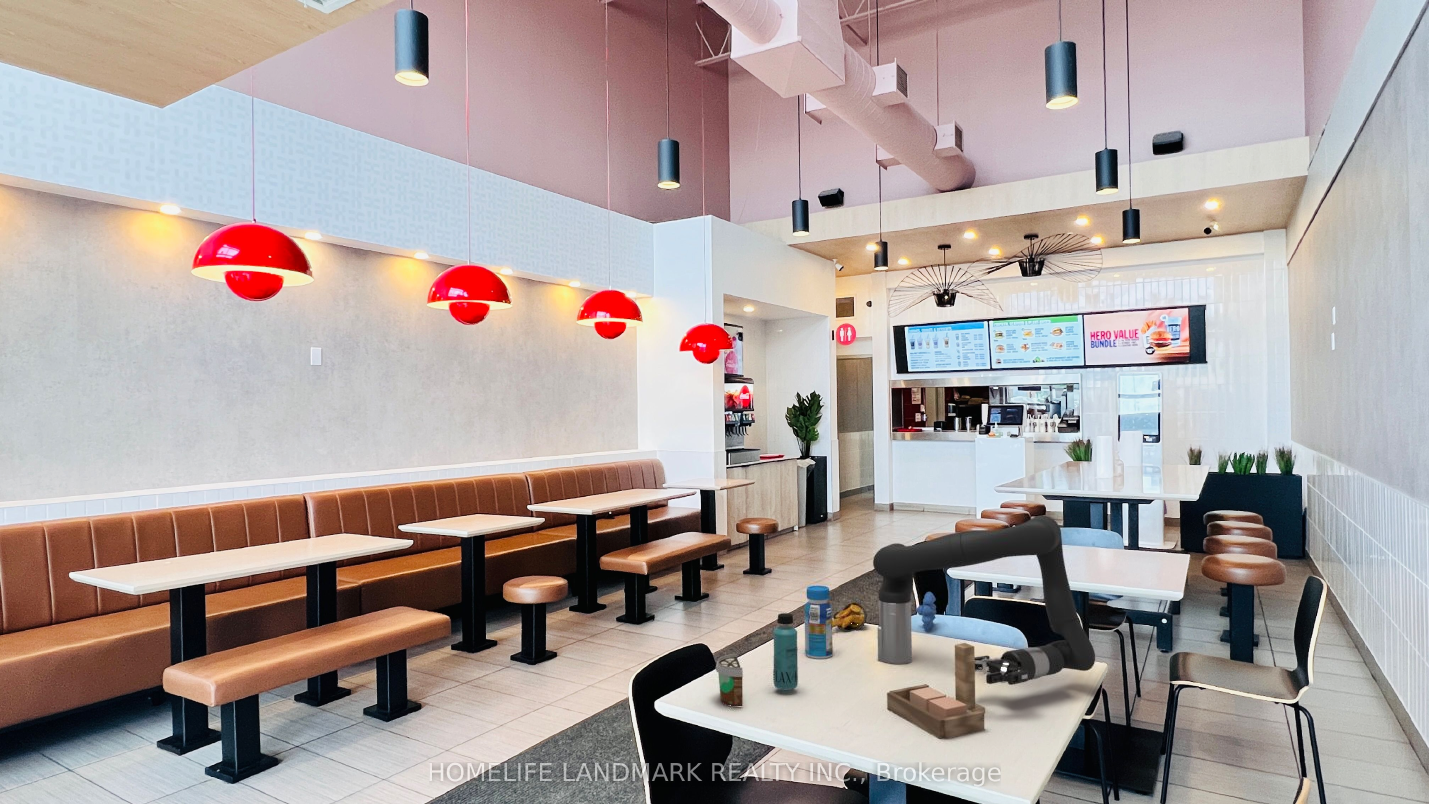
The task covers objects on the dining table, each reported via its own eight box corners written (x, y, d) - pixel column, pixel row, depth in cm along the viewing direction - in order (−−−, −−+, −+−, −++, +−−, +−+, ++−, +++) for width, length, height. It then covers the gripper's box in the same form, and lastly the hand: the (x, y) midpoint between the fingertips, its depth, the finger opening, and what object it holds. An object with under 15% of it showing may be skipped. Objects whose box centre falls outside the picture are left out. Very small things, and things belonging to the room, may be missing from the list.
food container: (714, 692, 206) (713, 653, 206) (737, 691, 207) (737, 652, 207) (718, 710, 194) (717, 669, 194) (743, 709, 194) (742, 668, 194)
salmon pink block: (949, 717, 188) (948, 696, 188) (967, 726, 182) (966, 704, 182) (928, 721, 185) (928, 700, 185) (946, 731, 180) (945, 709, 180)
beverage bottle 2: (799, 653, 238) (798, 586, 238) (823, 649, 241) (822, 583, 241) (814, 661, 230) (813, 592, 230) (838, 656, 234) (837, 588, 234)
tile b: (930, 707, 194) (929, 687, 194) (946, 716, 189) (946, 695, 189) (910, 711, 192) (909, 690, 192) (926, 720, 186) (925, 699, 186)
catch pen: (926, 700, 199) (925, 684, 199) (984, 729, 180) (984, 712, 180) (885, 708, 194) (885, 691, 194) (941, 739, 175) (941, 721, 175)
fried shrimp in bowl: (878, 613, 264) (853, 606, 251) (862, 642, 264) (836, 637, 251) (856, 598, 270) (831, 591, 257) (841, 627, 270) (815, 621, 257)
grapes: (919, 623, 268) (918, 587, 268) (939, 625, 265) (939, 589, 266) (912, 632, 258) (912, 595, 258) (933, 634, 255) (933, 597, 255)
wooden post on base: (957, 699, 199) (956, 635, 199) (1001, 720, 185) (1000, 651, 185) (928, 705, 195) (927, 640, 195) (971, 727, 182) (969, 657, 182)
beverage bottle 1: (768, 691, 206) (767, 614, 206) (784, 684, 211) (782, 609, 211) (788, 697, 202) (787, 618, 202) (803, 690, 206) (802, 613, 207)
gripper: (1048, 688, 191) (996, 699, 185) (1004, 671, 204) (954, 680, 198) (1047, 656, 191) (995, 666, 185) (1003, 641, 204) (953, 650, 198)
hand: (974, 674), depth 191 cm, fingers open, 8 cm apart
